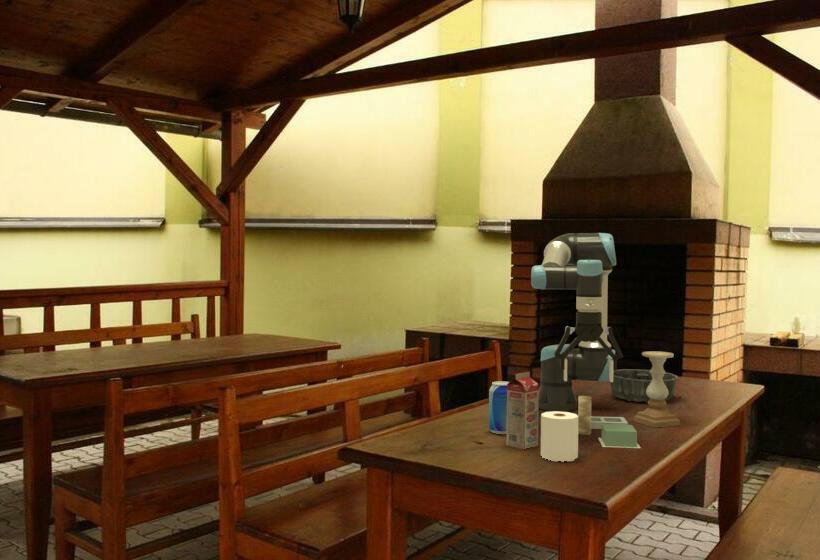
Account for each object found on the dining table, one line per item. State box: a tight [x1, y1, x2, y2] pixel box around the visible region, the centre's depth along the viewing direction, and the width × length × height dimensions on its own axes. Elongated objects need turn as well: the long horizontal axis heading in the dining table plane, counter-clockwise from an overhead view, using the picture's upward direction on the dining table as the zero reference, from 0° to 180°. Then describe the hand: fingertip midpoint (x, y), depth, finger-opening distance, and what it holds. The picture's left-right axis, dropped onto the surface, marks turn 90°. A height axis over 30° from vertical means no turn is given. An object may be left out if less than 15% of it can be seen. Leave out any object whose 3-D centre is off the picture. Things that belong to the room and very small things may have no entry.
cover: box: [601, 424, 638, 448], centre depth 229 cm, size 9×9×4 cm
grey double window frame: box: [591, 415, 629, 430], centre depth 251 cm, size 15×9×2 cm, turn 83°
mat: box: [597, 437, 642, 449], centre depth 229 cm, size 11×11×1 cm
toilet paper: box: [540, 411, 579, 463], centre depth 214 cm, size 10×10×12 cm
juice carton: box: [506, 371, 540, 449], centre depth 226 cm, size 7×7×22 cm
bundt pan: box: [609, 368, 679, 404], centre depth 299 cm, size 26×26×10 cm
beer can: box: [488, 380, 510, 435], centre depth 243 cm, size 8×8×16 cm
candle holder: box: [633, 350, 681, 429], centre depth 256 cm, size 11×11×24 cm
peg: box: [577, 395, 592, 436], centre depth 240 cm, size 4×4×12 cm
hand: (588, 381), depth 229 cm, fingers open, 13 cm apart
